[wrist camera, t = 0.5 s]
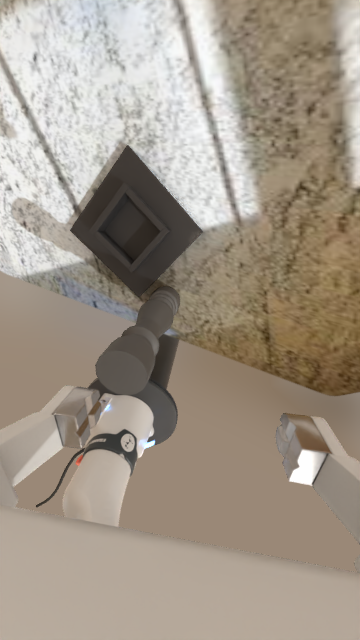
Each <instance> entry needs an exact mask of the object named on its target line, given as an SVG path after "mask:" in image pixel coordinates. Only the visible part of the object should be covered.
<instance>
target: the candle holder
mask: <svg viewBox="0 0 360 640" xmlns="http://www.w3.org/2000/svg"><path fill="white" fill-rule="evenodd" d="M179 305H180V297H179V294H178V293H177V292H176V291H175V290H174V289H173V288H171V287H166V286H163V287H160V288H158V289H157V290H155V291H154V292H153V294H152V295H151V296H150V298H149V300H148V301H147V302H146V303H145V304H143V305H142V306H141V308H140V310H139V313H138V318H137V323H136V325H135V326H132V327H129V328H128V329H127V330H125V331H124V332H123V334H122V336H121V337H119V338H117V339H116V340H115V341H114V342H112V343H111V344H110V346H109V347H108V348H107V349H106V350H105V351H104V352H103V354H102V355H101V356H100V357H99V359H98V361H97V363H96V365H95V366H96V375H97V377H98V378H99V380H100V382H101V383H102V384H103V385H104V386H105V387H106V388H107V389H109V390H111V391H113V392H115V393H117V394H122V395H133V394H137V393H138V392H140V391H142V390H143V389H144V388H145V386H146V384H147V383H148V380H149V378H150V375H151V373H152V370H153V368H154V365H155V355H156V354H157V352H158V350H159V341H158V338H159V337H160V336H161V335H162V334H163V333H165V332H166V331H167V330H168V329H169V328H170V326H171V325H172V323H173V316H174V315H175V314H176V312H177V310H178V308H179Z"/></svg>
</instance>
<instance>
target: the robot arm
mask: <svg viewBox="0 0 360 640" xmlns="http://www.w3.org/2000/svg"><path fill="white" fill-rule="evenodd" d="M99 397H100V393H99V390H96V389H89V388H83V387H75V386H68V385H66V386H64V387H63V388H62V389H61V390H60V391H59V392H58V393H57V394H56V395H55V396H54V397H53V398H52V399H51V400H50V402H49V403H48V404H47V405H46V406H45V407H44V408H43V409H42V410H41V411H40V412H39V413H36V412H35V413H33V414H31V415H29V416H27V417H25V418H23V419H21V420H19V421H17V422H15V423H13V424H11V425H9V426H7V427H5V428H3V429H1V430H0V640H360V555H359V556H358V557H357V559H356V560H355V563H354V565H355V568H356V570H357V572H352V571H347V570H342V569H337V568H332V567H326V566H321V565H316V564H310V563H306V562H300V561H295V560H290V559H284V558H279V557H274V556H269V555H263V554H258V553H252V552H248V551H243V550H237V549H232V548H227V547H222V546H216V545H211V544H206V543H200V542H195V541H190V540H185V539H179V538H174V537H168V536H164V535H158V534H153V533H148V532H142V531H137V530H132V529H127V528H121V527H119V516H120V510H121V505H122V501H123V497H124V493H125V490H126V486H127V483H128V480H129V477H130V476H131V475H132V473H133V470H134V468H135V465H136V461H137V458H139V457H141V456H142V454H143V451H144V449H145V448H146V447H150V446H152V445H154V443H155V441H152V442H149V443H147V441H148V438H149V437H151V436H153V434H154V428H153V420H154V417H153V413H152V411H151V409H150V408H149V406H148V405H147V404H146V403H144V402H143V401H141V400H140V399H138V398H135V397H132V396H128V395H112V394H108V393H105V394H103V395H102V397H101V398H100V400H99V401H98V399H99ZM280 421H281V423H282V425H280V426H279V427H278V428H277V431H276V443H277V447H278V450H279V452H280V453H281V454H282V455H283V457H284V460H283V466H284V469H285V472H286V475H287V478H288V480H289V481H291V482H296V483H302V484H307V485H312V487H313V488H314V490H315V491H316V492H317V493H318V494H319V496H320V497H321V498H322V499H323V501H324V502H325V503H326V504H327V505H328V507H329V508H330V509H331V510H332V511H333V513H334V514H335V515H336V516H337V517H338V519H339V520H340V521H341V522H342V524H343V525H344V526H345V527H346V528H347V530H348V531H349V532H350V533H351V534H352V536H353V537H354V538H355V539H356V541H357V542H358V543H359V544H360V462H358V461H357V460H356V459H354V458H353V457H349V456H348V455H347V453H346V452H345V450H344V449H343V447H342V445H341V444H340V442H339V441H338V439H337V438H336V436H335V435H334V433H333V431H332V430H331V428H330V427H329V425H328V424H327V422H326V421H325V419H323V418H322V417H313V416H305V415H295V414H287V413H283V415H282V416H281V418H280ZM146 443H147V444H146ZM85 444H86V447H85V448H84V449H82V448H83V447H84V445H85ZM63 447H71V448H80V449H82V450H80V451H79V452H77V453H76V454H75V455H74V456H73V457H72V459H71V460H70V462H69V463H68V465H67V466H66V468H65V470H64V472H63V474H62V477H61V479H60V481H59V484H58V486H57V487H56V489H55V491H54V492H53V493H52V495H51V496H50V497H49V498H47V499H46V500H45V501H43V502H41V503H39V504H38V505H36V507H39V506H40V505H42V504H44V503H46V502H47V501H49V500H50V499H51V498H52V497H53V496H54V494H55V493H56V492H57V490H58V489H59V486H60V485H61V483H62V480H63V478H64V476H65V474H66V472H67V470H68V468H69V466H70V465H71V463H72V462H73V460H74V459H75V458H76V457H77V456H78V455H79V454H81V453H82V452H84V454H83V455H81V456H80V457H79V458H78V460H77V461H76V465H79V467H78V468H77V470H76V472H75V474H74V476H73V477H72V479H71V481H70V483H69V485H68V486H67V488H66V490H65V493H64V497H63V511H64V514H65V516H66V517H64V516H58V515H53V514H48V513H43V512H37V511H32V510H26V509H21V508H16V507H15V505H16V504H17V502H18V496H17V494H16V492H15V490H14V486H15V485H16V484H18V483H19V482H20V481H22V480H23V479H24V478H25V477H27V476H28V475H29V474H30V473H32V472H33V471H34V470H35V469H37V468H38V467H39V466H40V465H42V464H43V463H44V462H45V461H47V460H48V459H49V458H51V457H52V456H53V455H54V454H56V453H57V452H58V451H59V450H60V449H62V448H63Z"/></svg>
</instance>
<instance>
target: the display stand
mask: <svg viewBox="0 0 360 640" xmlns="http://www.w3.org/2000/svg"><path fill="white" fill-rule="evenodd" d="M70 231H71V232H72V233H73V234H74V235H75V236H76V237H77V238H78V239H79V240H80V241H81V242H83V243H84V244H85V245H86V246H87V247H88V248H89V249H90V250H91V251H92V252H93V253H94V254H95V255H96V256H97V257H98V258H99V259H100V260H101V261H102V262H103V263H104V264H105V265H106V266H107V267H108V268H109V269H110V270H111V271H112V272H114V273H115V274H116V275H117V276H118V277H119V278H120V279H121V280H122V281H123V282H124V283H125V284H126V285H127V286H128V287H129V288H130V289H131V290H132V291H133V292H134V293H135V294H136V295H137V296H138V297H139V296H140V295H142V293H143V292H144V291H145V290H146V289H147V288H148V287H149V286H150V285H151V284H152V283H153V282H154V281H155V280H156V279H157V278H158V277H159V276H160V275H161V274H162V273H163V272H164V271H165V270H166V269H167V268H168V267H169V266H170V265H171V264H172V263H173V262H174V261H175V260H176V259H177V258H178V257H179V256H180V255H181V254H182V253H183V252H184V251H185V250H186V249H187V248H188V247H189V246H190V245H191V244H192V243H193V242H194V241H195V240H196V239H197V238H198V237H199V236H200V235H201V233H202V232H203V231H202V230H201V229H200V228H199V227H198V225H197V224H196V223H195V222H194V221H193V220H192V218H191V217H190V216H189V215H188V214H187V213H186V212H185V210H184V209H183V208H182V207H181V206H180V205H179V203H178V202H177V201H176V200H175V199H174V198H173V196H172V195H171V194H170V193H169V192H168V191H167V189H166V188H165V187H164V186H163V185H162V184H161V183H160V181H159V180H158V179H157V178H156V177H155V176H154V174H153V173H152V172H151V171H150V170H149V169H148V167H147V166H146V165H145V164H144V163H143V162H142V160H141V159H140V158H139V157H138V156H137V155H136V154H135V152H134V151H133V150H132V149H131V148H130V147H129V146H128V145H127V146H126V148H125V149H124V151H123V152H122V154H121V155H120V157H119V158H118V160H117V161H116V163H115V164H114V166H113V167H112V169H111V170H110V172H109V173H108V175H107V176H106V178H105V179H104V181H103V182H102V184H101V185H100V187H99V188H98V190H97V191H96V193H95V194H94V196H93V197H92V198H91V200H90V201H89V203H88V204H87V206H86V207H85V209H84V210H83V212H82V213H81V215H80V216H79V218H78V219H77V221H76V222H75V224H74V225H73V227H72V228H71V230H70Z"/></svg>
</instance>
